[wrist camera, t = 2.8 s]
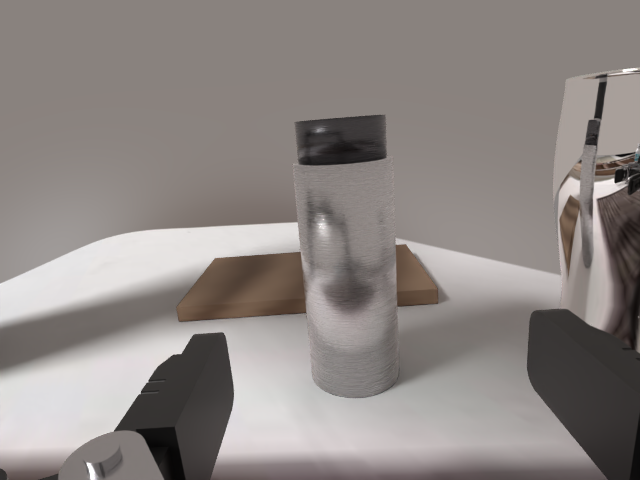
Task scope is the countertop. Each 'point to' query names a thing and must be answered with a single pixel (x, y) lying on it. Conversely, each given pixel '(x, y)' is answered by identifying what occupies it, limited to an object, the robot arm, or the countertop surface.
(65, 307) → the countertop surface
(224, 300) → the walnut board
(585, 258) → the beer glass
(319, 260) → the pepper grinder
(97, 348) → the countertop surface
